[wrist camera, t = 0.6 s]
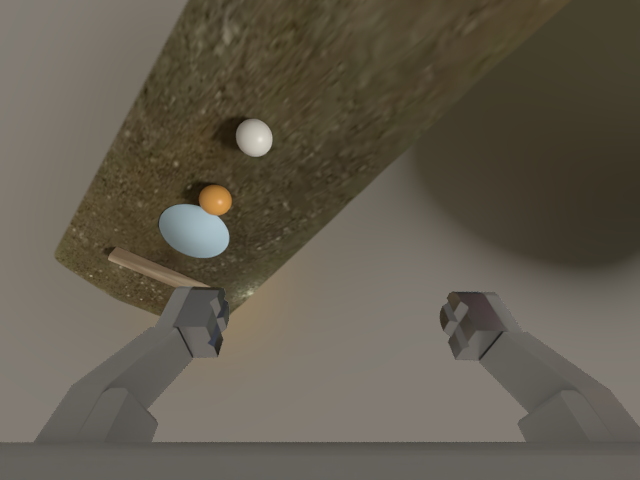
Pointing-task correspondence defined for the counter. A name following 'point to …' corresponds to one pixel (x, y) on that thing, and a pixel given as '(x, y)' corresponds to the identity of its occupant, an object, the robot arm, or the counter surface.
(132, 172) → the counter surface
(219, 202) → the orange ball
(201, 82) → the counter surface
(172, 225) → the blue mark
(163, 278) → the wooden stop rail
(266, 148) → the ivory ball
